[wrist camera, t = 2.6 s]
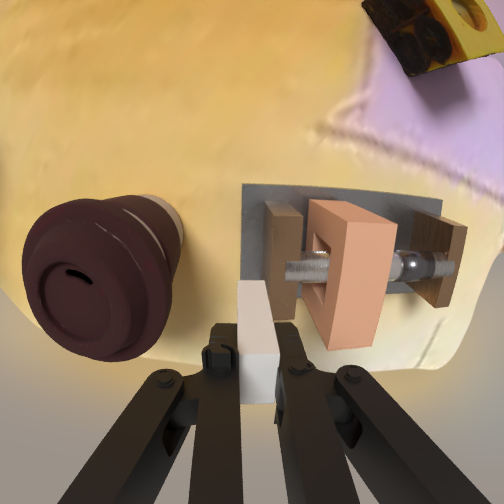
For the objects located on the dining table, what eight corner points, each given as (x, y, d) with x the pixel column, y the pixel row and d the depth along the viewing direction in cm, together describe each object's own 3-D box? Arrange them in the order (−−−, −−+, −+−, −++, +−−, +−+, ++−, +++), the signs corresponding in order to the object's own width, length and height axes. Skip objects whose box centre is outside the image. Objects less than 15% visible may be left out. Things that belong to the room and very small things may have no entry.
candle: (358, 3, 20) (400, -39, 10) (416, -5, 19) (461, -34, 9) (406, 80, 23) (467, 61, 13) (457, 63, 22) (513, 50, 12)
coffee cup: (144, 295, 28) (89, 397, 14) (86, 222, 26) (-13, 280, 11) (218, 242, 27) (203, 333, 13) (155, 158, 24) (68, 163, 10)
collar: (301, 293, 27) (327, 350, 19) (309, 199, 24) (347, 221, 16) (335, 292, 27) (371, 346, 19) (346, 201, 24) (397, 224, 16)
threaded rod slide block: (240, 294, 29) (242, 339, 22) (242, 183, 25) (245, 193, 18) (422, 288, 30) (459, 319, 23) (438, 198, 27) (485, 213, 19)
